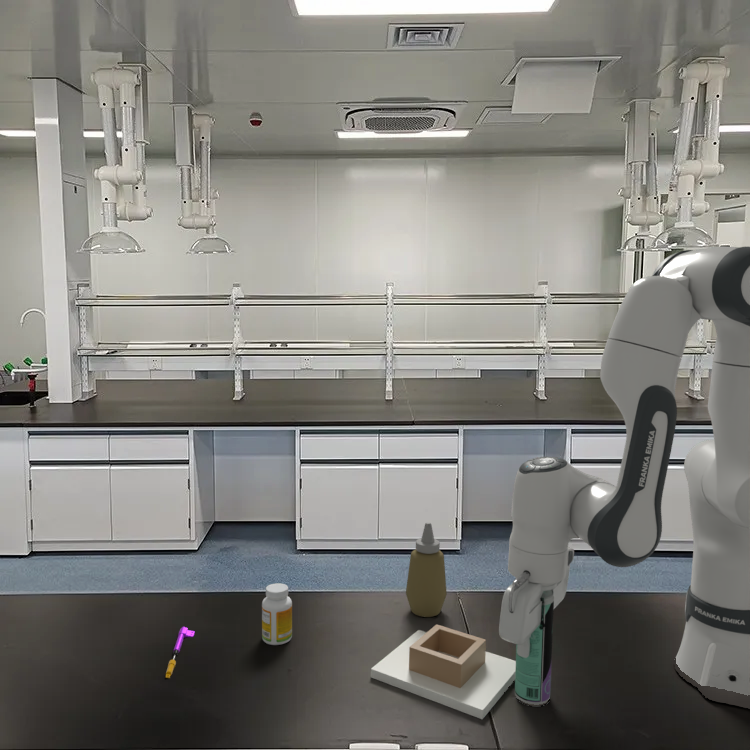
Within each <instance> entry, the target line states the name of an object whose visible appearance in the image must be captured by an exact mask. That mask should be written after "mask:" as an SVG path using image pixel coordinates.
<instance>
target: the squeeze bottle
mask: <svg viewBox="0 0 750 750" xmlns="http://www.w3.org/2000/svg"><path fill="white" fill-rule="evenodd" d="M423 527H424V528H423V530H422V534H421V535H422V536H421V537H419V538H417V539H416V540H415V549H414V550H412V551H411V553H410V557H409V564H408V565H409V566H408V573H407V581H406V588H405V596H406V598H407V601H408V602H407V603H408V605H409V607H410V610H411V613H413V614H414V615H415V616H419V617H424V618H431V617H435V616H438V615H439V614H440V613H441V611H442V608H443V606H444V604H445V600H446V597H447V595H448V593H447V579H446V567H445V566H446V564H445V555H444V553H443V552H442V551H441V550H440V546H441V545H440V541H439V540H438V539H436V538H435V536H434V531H433V527H432V523H431V522H425V524H424V526H423Z"/></svg>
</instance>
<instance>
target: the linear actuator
mask: <svg viewBox="0 0 750 750" xmlns="http://www.w3.org/2000/svg"><path fill="white" fill-rule="evenodd" d="M194 636H195V631H194V630H189V629H188V627H185V626H181V628H180V629H179V631H178V635H177V638H176V639H177V640H176V641H175V646H174V648H173V650H172V651H173V652H172V655H173V658H172V659H170V660H169V661H168V665H167V669H166V672H165V678H166V679H171V676H172V674H173V671H174V669H175V667H176V664H177V661H176V660H175V659H176V657H177V656H178V655H179V653H180V651H181V648H182V644H183V641H184V638H193V637H194Z"/></svg>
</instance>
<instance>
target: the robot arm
mask: <svg viewBox="0 0 750 750" xmlns="http://www.w3.org/2000/svg"><path fill="white" fill-rule="evenodd" d="M627 290H628V291H627V292H626V294H625V296H624V298H623V300H622V302H621V304H620V306H619V308H618V310H617V313H616V314H615V318H614V320H613V322H612V325H611V328H610V329H609V330H610V331H609V333H608V336H607V339H606V343H605V346H604V349H603V353H602V357H601V361H600V363H601V364H600V374H599V375H600V376H599V377H600V381H601V384H602V386H603V389H604V390H605V392H606V393H607V395H608V396H609V397H610V399H611V400H612V401H613V402H614V403H615V405H616V406H617V408H618V410H619V412H620V413H621V416H622V418H623V421H624V425H625V429H626V430H625V431H626V436H625V437H626V438H625V439H626V440H625V444H624V449H623V454H622V458H621V464H620V468H619V472H618V477H617V478H618V479H617V483H616V485H614V484H612V483H611V482H609V481H606V480H605V479H603V478H601V477H598V476H594V475H590V474H588V473H585V472H583V471H581V470H580V469H578V468H576V467H574V466H572V464H570V463H569V462H568V461H567V460H565V459H564V458H561V457H557V456H538V457H534V458H531V459H530V458H529V459H528V460H527V461H524V462H523V463H521V465H520V466H519V468H518V470H517V472H516V475H515V478H514V483H513V489H512V496H511V508H510V509H511V511H510V516H511V520H512V529H511V533H510V535H509V536H510V537H509V541H508V544H509V545H508V548H509V549H508V559H507V570H508V572H509V574H510V575H512V576H513V577H514V578H515V579H514V580H513V581H512V583H511V584H509V586H508V587H506V589H505V591H504V592H503V595H502V601H501V605H500V606H501V608H500V613H499V614H500V616H499V625H498V634H499V637H500V639H502V640H503V641H506V642H509V643H512V644H515V645H516V644H517V654H518V655H519V656H521V657H524V658H527V657H528V656H529V655H530V653H531V649H532V644H531V643H530V639H529V638H530V637H531V634H532V633H533V632H534V631H535V629H536V628H537V627H538V626H539V625H540V622H541V606H542V601H540V598H541V596H542V593H543V591H547V590H553V592H554V594H553V596H554V610H555V609H556V608H557V607H558V606H559V604H560V603H561V602H562V601H563V600H564V598H565V597H566V594H567V591H568V584H569V577H570V570H571V563H572V562H573V561H574V557H575V549H574V548H572V547H569V542H570V541H571V540H573V539H581V541H583V542H584V543H585V544H587V545H588V546H589V547H591V549H592V550H593V551H594V553H596V554H597V555H598V556H599V557H600V558H601V559H602V561H604V562H605V563H607V564H608V565H610V566H612V567H618V568H629V567H632V566H635V565H638V564H640V563H642V562H643V561H646V560H647V559H648V558H649V557H650V556H651V555H653V553H654V552H655V551H656V549H657V548H658V546H659V544H660V541H661V537H662V533H663V520H662V519H663V518H662V517H663V515H662V501H663V500H662V499H663V493H664V489H665V483H666V478H667V472H668V468H669V463H670V457H671V453H672V449H673V448H672V447H673V443H674V437H675V431H676V425H677V420H678V419H677V416H678V408H677V407H678V406H677V402H676V401H677V400H676V389H677V379H678V373H679V369H680V366H681V365H680V364H681V362H682V358H683V355H684V352H685V349H686V344H687V341H688V336H689V334H690V331H691V330H692V328H693V327H694V326H695V324H696V323H697V322H698V321H699V320H709V321H712V322H713V325H714V328H715V331H716V339H715V344H714V349H713V357H712V366H711V372H710V373H711V375H710V382H709V383H710V384H709V391H708V392H709V393H708V400H707V413H708V415H709V417H710V421H711V426H712V433H713V439H706V440H702V441H700V442H698V443H696V444H695V445H694V446H693V447H691V448H690V449H689V451H688V452H687V454H686V456H685V458H684V464H683V469H684V470H683V471H684V473H685V477H686V481H687V485H688V486H687V487H688V494H689V495H688V497H689V509H690V519H691V526H692V536H693V541H692V543H693V544H692V545H693V549H692V550H693V551H692V552H693V553H692V562H691V563H692V565H691V577H690V585H689V586H688V589H687V590H686V591H687V592H686V594H685V595H686V596H685V603H684V604H685V606H684V615H685V618H684V619H685V626H684V631H683V635H682V639H681V643H680V645H679V646H680V647H679V649H678V652H677V654H676V655H675V658H676V664H677V665H678V667H679V668H680V670H681V671H682V672H684V673H685V674H686V675H688V676H689V677H690V678H692V679H693V680H695V681H696V682H697V683H698V684H700V685H701V686H710V687H716V688H718V689H725V690H727V691H733V692H736V693H740V694H744V695H747V696H748V695H750V246H740V247H738V246H722V245H721V246H718V245H717V246H712V247H711V246H710V247H707V248H700V249H699V248H698V249H694V250H693V249H687V250H681V251H678V252H674V253H672V254H670V255H669V256H667V257H666V258H664V259H663V260H662V261H660V263H659V264H658V265H657V266H656V268H655V269H654V271H653V273H652V275H651V276H650V275H649V276H645V277H642V278H639V279H637V280H636V281H635V282H634V283H633V284H631V285H630V288H629V289H627Z"/></svg>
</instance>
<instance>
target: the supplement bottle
mask: <svg viewBox="0 0 750 750" xmlns="http://www.w3.org/2000/svg"><path fill="white" fill-rule="evenodd" d="M288 595H289V587H288V585H287V584H285V583H280V582H278V583H272V584H271V583H270V584H269V585H267V586H266V587H265V596H266V597H264V598H263V600H262V602H261V637H262V641H263V642H264V643H266V644H267V645H271V646H279V645H284V644H286V643H288V642H290V641H291V640H292V638H293V601H292V598H290V596H288Z"/></svg>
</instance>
